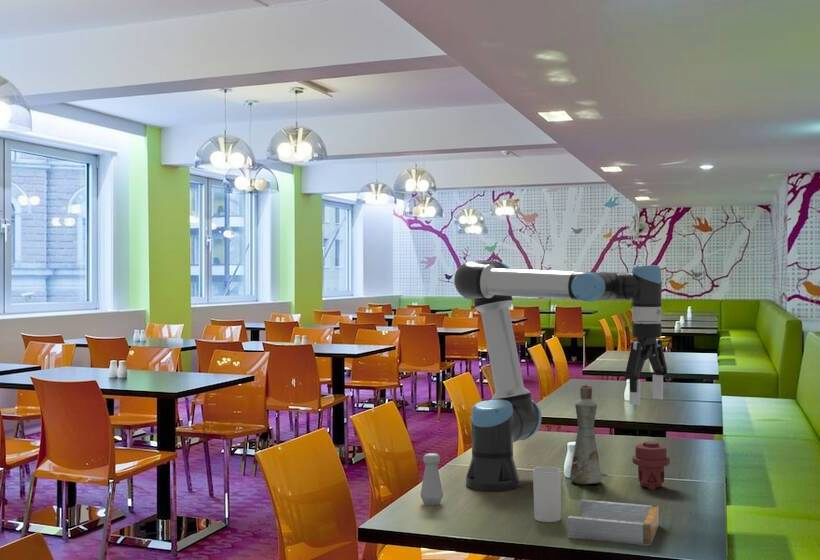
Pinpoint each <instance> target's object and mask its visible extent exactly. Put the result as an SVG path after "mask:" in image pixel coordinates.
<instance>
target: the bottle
mask: <svg viewBox="0 0 820 560" xmlns="http://www.w3.org/2000/svg"><path fill="white" fill-rule="evenodd" d="M579 392H580V395H579V396H580V397H579V399H577V401H575V404H574V406H575V412H576V414H575V415H576V420H577V427H578V428H577V432H576V433H577V434H576V436H575V444H574V449H573V455H572V460H571V467H570V473H569V475H570V476H569V479H570V481H571V482H572V483H573V484H577V485H584V486H585V485H591V484H594V485H595V484H600V482H601V481H602V472H601V465H600V459H599V453H598V447H597V440H596V435H595V429H594V427H595V420H596V414H597V409H598V404H597V402H596V401H595V400H594V399H593V397H592V396H593V387H592V386H591V385H588V384H585V385H581V386H580V387H579Z"/></svg>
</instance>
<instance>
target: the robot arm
mask: <svg viewBox="0 0 820 560" xmlns="http://www.w3.org/2000/svg"><path fill="white" fill-rule="evenodd" d="M453 278H454V280H453V282H454V286H455V289H456V291H457V292H458V294H460V296H462V298H465V299H467V300H470V301H471V300H472V301H473V305H474V309H475V310H477V312H479V313H480V315H481V322H482V326H483V332H484V336H485V342H486V347H487V352H488V357H489V364H490V369H491V374H492V379H493V384H494V389H495V390H494V394H493V395H492V397H491V399H489V400H483V401H482V400H481V401H479V402H476V403H475V404H474V405H473V406H472V408H471V415H470V421H471V422H470V423H471V460H470V464H469V466H468V469H467V472H466V475H465V485H466V486H467V487H468V488H469V489H472V490H477V491H486V492H502V491H503V492H504V491H511V490H515V489H517V488H519V487H520V486H521V484H520V483H521V482H520V480H521V479H520V475H519V471H518V468H517V465H516V462H515V460H514V443H516V442H518V441H525V440H527V439H529V438H530V437H532V436H533V435H535V434H536V433H537V432H538V430H539V429H540V427H541V423H542V411H541V409H540V407H539V405H538V404H537V403H536V402H535V401H534V400H533V399H532V394H531V391H530V390H529V389H528V388H526V387H525V385H524V378H523V374H522V369H521V363H520V359H519V358H520V357H519V353H518V349H517V344H516V343H517V342H516V339H515V338H516V337H515V333H514V328H513V322H512V317H511V312H510V307H511V306H512V303H513V302H514V299H513V297H520V298H521V297H522V298H523V297H524V298H525V297H527V298H539V299H541V298H543V299H556V300H557V299H558V300H571V301H572V300H575V301H582V302H595V301H622V300H623V301H632V312H631V313H632V315H631V316H632V318H631V319H632V321H633V323H632V325H631V326H632V331H631V333H632V337H633V338H637V341H631V342H630V350H629V356H628V361H627V363H626V364H627V365H626V369H625V373H624V378H625V380H629V405H633V406H634V405H635V406H641V379H640V376H641V373H642V371H643V368H644V364H645V363H646V361H647V360H648V361H649V363H650V366H651V368H652V371H653V373H654V374H652V399H654V400H664V376H667V375H668V367H667V366H668V365H667V362H666V357H665V353H664V349H663V340H662V339H659V338H661V336H662V324H661V323H660V322H662V314H663V310H662V286H663V285H662V284H663V281H662V279H663V278H662V269H661V267H660V266H659V265H658V264H657V265H656V264H654V265H653V264H649V265H648V264H645V265H644V264H641V265H640V264H639V265H633V266H632V270H631V271H629V272H607V271H600V272H598V271H597V272H592V271H565V270H545V269H544V270H543V269H542V270H540V269H518V268H511V267H510V266H509V265H507V264H506V263H504V262H502V261H497V260H469V261H465V262H464V263H462V264H461V265H459V267H458V268H457V270H456V271H455V274H454V277H453Z"/></svg>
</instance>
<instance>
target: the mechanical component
mask: <svg viewBox="0 0 820 560" xmlns="http://www.w3.org/2000/svg"><path fill="white" fill-rule="evenodd" d="M631 462H632V464H634V465H636V466H637V474H638V475H637V476H638V477H637V480H638V482H639V486H641V487H645V488H647V489H649V490H652V491H653V490H655V489H656V488H660V487H662V486H663V484H664V483H665V467H667V466H670V464H671V461H670V458H669V456H667V446H665V445H664V444H660V443H659V442H658V441H650V440H649V441H644V442H643V443H638V444H636V445H635V455H633V456H632V461H631Z"/></svg>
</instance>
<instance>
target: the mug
mask: <svg viewBox="0 0 820 560" xmlns="http://www.w3.org/2000/svg"><path fill="white" fill-rule="evenodd" d="M532 483H533V485H532V487H533V488H532V489H533V512H534V513H533V515H534V520H536V521H537V522H542V523H556V522H559V521H560V520H561V519H562V518H561V515H562V514H561V513H562V512H561V510H562V507H561V506H562V504H561V503H562V500H561V499H562V469H561V468H560V467H555V466H538V467H533V468H532Z"/></svg>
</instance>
